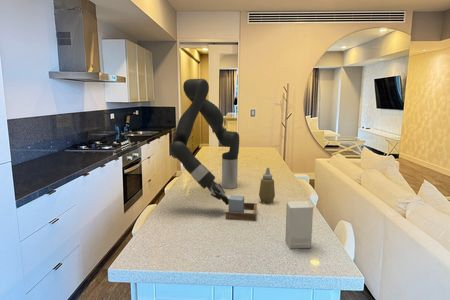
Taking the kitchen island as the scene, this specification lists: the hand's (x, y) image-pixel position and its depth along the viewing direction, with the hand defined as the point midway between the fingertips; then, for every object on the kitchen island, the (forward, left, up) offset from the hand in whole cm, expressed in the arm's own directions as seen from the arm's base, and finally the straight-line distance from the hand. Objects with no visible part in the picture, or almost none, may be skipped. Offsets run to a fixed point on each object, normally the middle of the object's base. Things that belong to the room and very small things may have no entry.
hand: (228, 203), depth 137 cm
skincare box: (+26, +28, -5) cm, 39 cm away
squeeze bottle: (-18, +17, -5) cm, 26 cm away
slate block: (+1, +4, -5) cm, 6 cm away
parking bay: (0, +5, -5) cm, 7 cm away
